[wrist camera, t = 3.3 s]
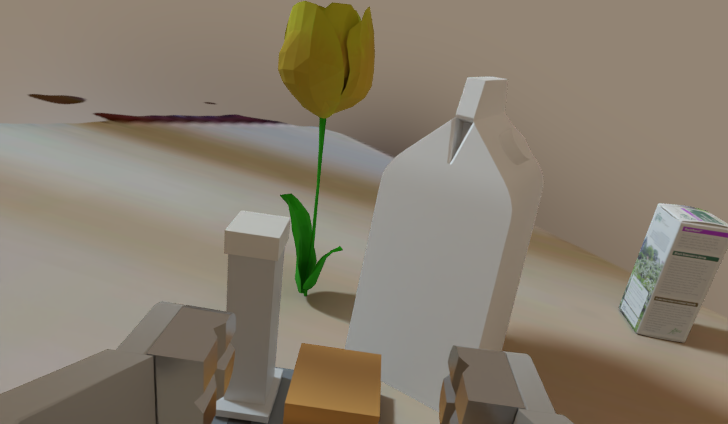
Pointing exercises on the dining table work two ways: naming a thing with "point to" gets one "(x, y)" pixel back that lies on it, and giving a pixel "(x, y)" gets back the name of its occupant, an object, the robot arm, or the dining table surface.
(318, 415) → the walnut lever
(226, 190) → the dining table surface
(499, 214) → the milk
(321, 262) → the flower
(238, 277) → the grey lever
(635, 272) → the syrup box
